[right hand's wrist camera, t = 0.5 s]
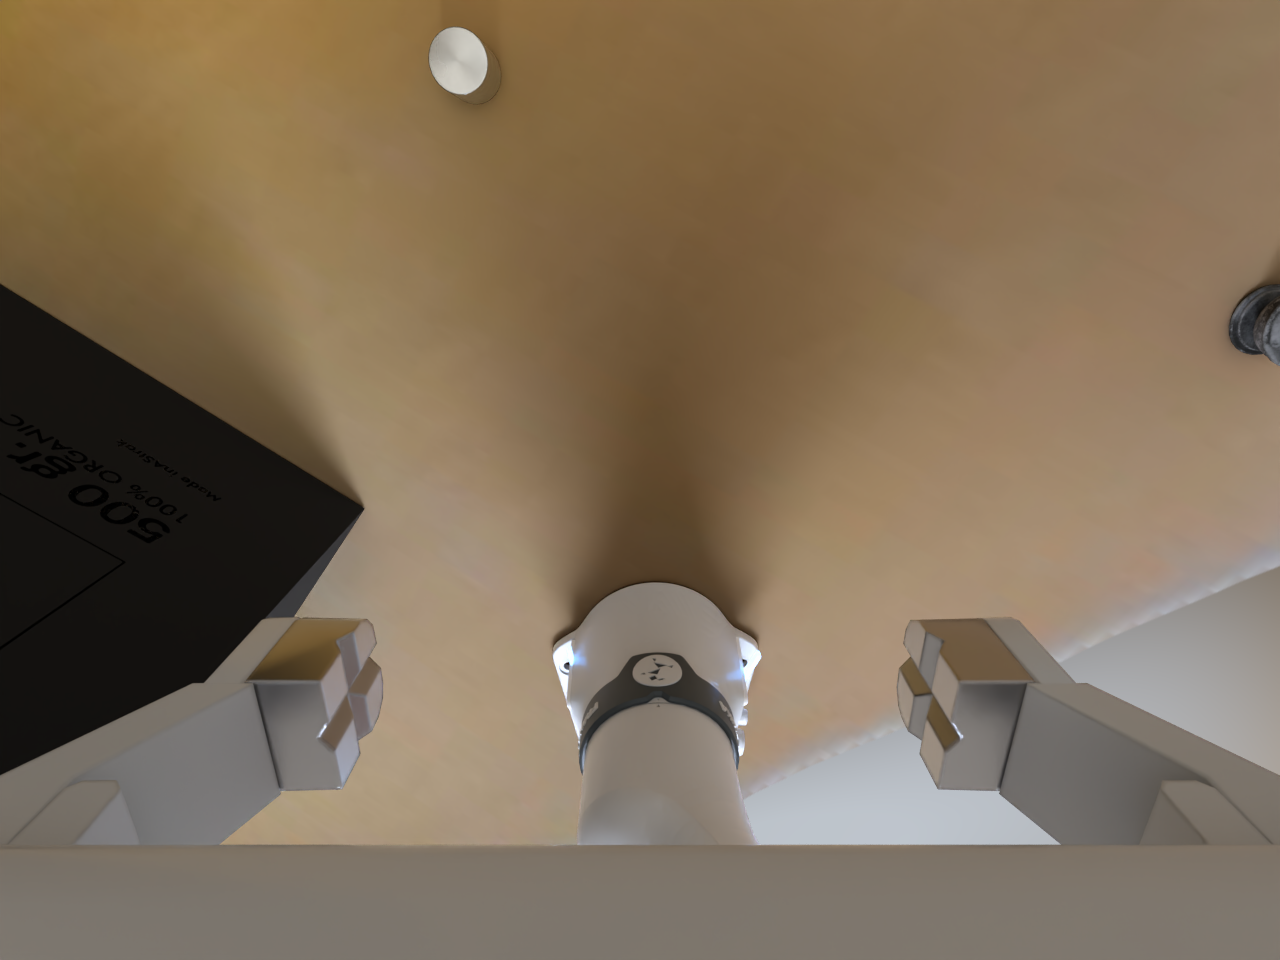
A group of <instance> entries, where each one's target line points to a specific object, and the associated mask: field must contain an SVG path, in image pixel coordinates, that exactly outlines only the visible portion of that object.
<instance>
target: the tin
mask: <svg viewBox="0 0 1280 960" xmlns="http://www.w3.org/2000/svg"><path fill="white" fill-rule="evenodd" d="M429 66H430V70H431V72H432V75H433V77H434V78H435V80H436V81H437V83H438V84H439V85H440V86H441V87H442V88H443V89H445V90H446V91H448V92H450V93H451V94H453V95H455V96H456V97H458V98H460V99H461V100H463V101H465V102H467V103H470V104H482V103H485V102H487V101H489V100H490V99H491V98H493V96H494V95H495V94H496V93H497V91H498V89H499V86H500V82H501V70H500V65H499V63H498V60H497V58H496V57H495V55H494V54H493V53H492V51H491V50H490V49H489V48H488V47H487V46H486V45H485V44H484V43H483V42H482V41H481V40H480V39H479V38H478V37H477V36H476V35H475V34H474V33H473V32H471V31H470V30H468V29H465V28H462V27H449V28H446V29H444V30H442V31H441V32H439V33H438V34H437V35H436V37H435V38H434V39H433V41H432V43H431V46H430V49H429Z"/></svg>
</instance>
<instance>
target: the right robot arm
mask: <svg viewBox="0 0 1280 960" xmlns="http://www.w3.org/2000/svg"><path fill="white" fill-rule="evenodd" d="M376 644H377V642H376V638H375V633H374V628H373V624H372V623H371V622H370V621H369V620H368V619H347V618H299V617H278V618H267V619H263V620H261V621H260V622H259V623H258V625H257V626H256V627H255V628H254V629H253V630H252V631H251V632H250V633H249V634H248V635H247V637H246V638H245V639H244V640H243V641H242V642H241V643H240V644H239V645H238V646H237V647H236V649H235V650H234V651H233V652H232V653H231V654H230V655H229V656H228V657H227V658H226V659H225V661H224V662H223V663H222V664H221V665H220V666H219V667H218V668H217V669H216V670H215V671H214V673H213V674H212V675H211V676H210V677H209V678H208V679H207V680H206V681H205V682H204V683H192V684H190V685H188V686H186V687H184V688H182V689H180V690H178V691H176V692H173V693H171V694H169V695H167V696H165V697H163V698H161V699H159V700H157V701H155V702H153V703H150V704H148V705H146V706H144V707H142V708H140V709H138V710H136V711H134V712H132V713H130V714H127V715H125V716H123V717H121V718H119V719H117V720H115V721H113V722H111V723H109V724H107V725H104V726H102V727H100V728H98V729H96V730H94V731H92V732H90V733H88V734H86V735H84V736H81V737H79V738H77V739H75V740H73V741H71V742H69V743H67V744H65V745H63V746H61V747H58V748H56V749H54V750H52V751H50V752H48V753H46V754H44V755H42V756H40V757H38V758H35V759H33V760H31V761H29V762H27V763H25V764H23V765H21V766H19V767H17V768H15V769H12V770H10V771H8V772H6V773H4V774H2V775H0V960H1280V775H1277V774H1275V773H1273V772H1271V771H1269V770H1267V769H1265V768H1263V767H1261V766H1259V765H1257V764H1255V763H1252V762H1250V761H1248V760H1246V759H1244V758H1242V757H1240V756H1238V755H1236V754H1234V753H1232V752H1229V751H1227V750H1225V749H1223V748H1221V747H1219V746H1217V745H1215V744H1213V743H1211V742H1209V741H1207V740H1204V739H1202V738H1200V737H1198V736H1196V735H1194V734H1192V733H1190V732H1188V731H1186V730H1184V729H1182V728H1179V727H1177V726H1175V725H1173V724H1171V723H1169V722H1167V721H1165V720H1163V719H1161V718H1159V717H1157V716H1154V715H1152V714H1150V713H1148V712H1146V711H1144V710H1142V709H1140V708H1138V707H1136V706H1134V705H1132V704H1129V703H1127V702H1125V701H1123V700H1121V699H1119V698H1117V697H1115V696H1113V695H1111V694H1109V693H1106V692H1104V691H1102V690H1100V689H1098V688H1096V687H1094V686H1092V685H1090V684H1088V683H1076V682H1075V681H1074V680H1073V679H1072V678H1071V677H1070V676H1069V675H1068V674H1067V673H1066V672H1065V670H1064V669H1063V668H1062V667H1061V666H1060V665H1059V664H1058V663H1057V662H1056V661H1055V659H1054V658H1053V657H1052V656H1051V655H1050V654H1049V653H1048V652H1047V651H1046V650H1045V649H1044V647H1043V646H1042V645H1041V644H1040V643H1039V642H1038V641H1037V640H1036V639H1035V638H1034V637H1033V635H1032V634H1031V633H1030V632H1029V631H1028V630H1027V629H1026V628H1025V627H1024V626H1023V624H1022V623H1021V622H1020V621H1019V620H1016V619H1014V618H1012V617H995V618H977V619H932V620H910V622H909V624H908V626H907V628H906V631H905V637H904V642H903V644H904V645H905V647H906V649H907V651H908V652H909V654H910V656H911V657H910V658H909V659H908V660H907V661H906V662H905V663H904V664H903V665H902V666H901V667H900V668H899V673H898V681H897V696H898V706H899V710H900V713H901V716H902V719H903V722H904V724H905V726H906V728H907V730H908V731H909V732H910V733H911V734H913V735H914V736H916V737H917V738H919V739H920V740H922V743H921V749H920V756H921V757H922V759H923V761H924V763H925V765H926V767H927V769H928V771H929V773H930V775H931V777H932V779H933V781H934V782H935V785H936V786H937V788H938V789H944V790H980V791H1000V793H999V794H1000V795H1001V796H1002V797H1004V798H1005V799H1006V800H1007V801H1009V802H1010V803H1011V804H1012V805H1014V806H1015V807H1016V808H1017V809H1018V810H1020V811H1021V812H1022V813H1023V814H1025V815H1026V816H1027V817H1028V818H1029V819H1031V820H1032V821H1033V822H1034V823H1036V824H1037V825H1038V826H1039V827H1040V828H1042V829H1043V830H1044V831H1045V832H1046V833H1048V834H1049V835H1050V836H1051V837H1053V838H1054V839H1055V840H1056V841H1058V842H1059V843H1060V844H1061V845H760V844H759V842H758V841H757V839H756V837H755V835H754V833H753V830H752V828H751V825H750V822H749V819H748V815H747V812H746V808H745V805H744V801H743V797H742V793H741V789H740V784H739V780H738V775H737V769H738V764H739V756H740V755H742V754H743V751H744V744H745V736H744V731H743V730H741V729H738V728H737V727H738V725H746V724H747V720H748V712H747V709H744V708H743V706H744V705H746V704H747V703H748V693H747V692H748V689H749V685H750V682H751V678H752V675H753V671H754V668H755V666H756V664H757V663H758V661H759V660H760V658H761V655H760V651H758V645H757V642H756V641H755V640H754V639H753V638H752V637H751V636H749V635H747V634H746V633H744V632H742V631H740V630H739V629H737V628H735V627H733V626H732V625H731V624H730V623H729V622H728V620H727V619H726V618H725V616H724V615H723V614H722V612H721V611H720V610H719V609H718V608H717V607H716V606H715V605H714V604H713V603H712V602H711V601H710V600H709V599H707V598H706V597H704V596H703V595H701V594H699V593H698V592H696V591H694V590H691V589H689V588H686V587H683V586H679V585H675V584H670V583H657V582H653V583H642V584H636V585H632V586H629V587H626V588H623V589H621V590H618V591H616V592H614V593H612V594H611V595H609V596H607V597H606V598H604V599H603V600H602V601H600V602H599V603H598V604H597V605H596V606H595V607H594V608H593V609H592V610H591V611H590V613H589V614H588V615H587V617H586V618H585V620H584V621H583V623H582V624H581V625H580V626H579V627H578V628H577V629H576V630H575V631H573V632H571V633H570V634H568V635H566V636H565V637H563V638H562V639H560V640H559V641H558V642H557V643H556V644H555V645H554V647H553V660H554V664H555V667H556V670H557V673H558V676H559V679H560V682H561V686H562V689H563V692H564V695H565V698H566V701H567V707H568V708H569V711H570V714H571V717H572V720H573V723H574V726H575V730H576V733H577V736H578V739H579V745H578V748H579V763H580V769H581V773H582V776H583V778H582V789H581V799H580V809H579V820H578V830H577V845H219V844H220V843H221V842H223V841H224V840H225V839H226V838H228V837H229V836H230V835H231V834H233V833H234V832H235V831H236V830H237V829H239V828H240V827H241V826H242V825H244V824H245V823H246V822H247V821H248V820H250V819H251V818H252V817H253V816H255V815H256V814H257V813H258V812H259V811H261V810H262V809H263V808H264V807H266V806H267V805H268V804H269V803H270V802H272V801H273V800H274V799H275V798H277V797H278V796H279V795H280V794H281V793H280V791H299V790H334V789H343V787H344V785H345V783H346V781H347V779H348V777H349V775H350V773H351V771H352V769H353V767H354V765H355V763H356V761H357V759H358V757H359V755H360V749H359V743H358V740H360V739H361V738H363V737H364V736H366V735H367V734H369V733H370V732H371V731H372V730H373V728H374V726H375V723H376V721H377V719H378V717H379V713H380V708H381V704H382V699H383V679H382V672H381V668H380V667H379V666H378V665H377V664H376V663H375V662H374V661H373V660H372V659H371V658H370V657H369V656H370V654H371V652H372V651H373V649H374V647H375V645H376ZM742 659H745V661H744V662H743V661H742ZM567 662H570V665H567V664H566V663H567Z"/></svg>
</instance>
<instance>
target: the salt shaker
mask: <svg viewBox="0 0 1280 960" xmlns="http://www.w3.org/2000/svg"><path fill="white" fill-rule="evenodd" d="M1229 335H1230V338H1231V342H1232V343H1233V345H1234V346H1235V347H1236V348H1237V349H1238V350H1240V351H1241V352H1243V353H1247V354H1251V355H1257V354H1264V355H1266V356H1267V357H1268V358H1269V359H1270V361H1272V362H1273V363H1275V364H1277V365H1278V366H1280V284H1279V285H1268V286H1265V287H1262V288H1259V289H1258V290H1256V291H1254V292H1252V293H1251V294H1250V295H1248V296H1247V297H1246V298H1245V299H1243V301H1242V302H1241V303H1240V304H1239V305H1238V307H1237V308H1236V310H1235V312H1234V314H1233V315H1232V318H1231V322H1230V325H1229Z"/></svg>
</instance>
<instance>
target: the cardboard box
mask: <svg viewBox="0 0 1280 960" xmlns="http://www.w3.org/2000/svg"><path fill="white" fill-rule="evenodd" d="M121 439H122V440H123V442H127V444H125V445H123V446H120V447H118V445H120V444H121V443H118V442H121ZM129 444H130V445H132V446H134V447H135V448H134V449H133V447H131V446H129V447H128V448H126V447H125V446H127V445H129ZM61 446H63V447H65V448H67V449H65V448H62V449H59V448H60V447H61ZM138 451H142V452H141V453H139V454H136V453H137V452H138ZM72 452H74V453H72ZM144 453H146V454H147V455H145V456H144V457H141V458H140V457H138V456H139V455H142V454H144ZM64 455H66V457H64ZM146 456H151V457H153V458H154V459H155V460H152V458H147V459H146ZM83 459H85V460H84V462H83V463H82V461H83ZM142 459H145V462H144V461H143V460H142ZM156 460H158V463H157V462H156ZM75 461H78V462H77V463H74V462H75ZM92 463H93V464H94V465H93V466H92V467H90V466H87V467H83V466H84V465H87V464H89V465H92ZM159 463H160V464H161V465H166V466H167V467H169V468H168V469H166V470H167V471H171V470H173V472H171V473H169V472H167V471H165V470H164V468H165V467H166V466H164V467H162V466H161V465H160V464H159ZM98 467H100V468H98ZM89 470H90V472H89ZM104 470H105V471H104ZM101 471H104V472H103V474H102V476H101V478H100V477H99V475H100V474H99V473H101ZM107 472H109V473H107ZM170 475H171V476H170ZM184 477H187V478H189V479H190V482H188V481H187V479H186V478H184ZM183 478H184V479H183ZM105 479H106V480H107V482H106V481H104V480H105ZM185 479H186V480H185ZM121 480H122V481H121ZM113 481H116V482H115V483H112V482H113ZM120 481H121V482H120ZM192 482H195V483H197V484H199V487H198V488H197V485H196V484H192ZM130 486H133V487H134V488H133V487H130ZM200 487H204V488H206V489H207V490H208V492H206V493H203V492H201V491H205V489H201V491H199V490H198V489H199V488H200ZM72 489H73V493H72V494H70V495H69V494H68V493H70V492H71V490H72ZM136 489H138V490H139V491H135V490H136ZM76 490H77V491H78V492H77V494H76V496H75V498H73V495H74V493H75V491H76ZM99 490H101V491H102V492H103V495H102V497H101V498H100V496H101V494H102V493H101V492H100V491H99ZM105 492H106V493H107V494H108V495H109V497H108V496H107V497H108V499H107V501H105V500H103V501H105V502H103V501H102V500H101V499H102V498H105V497H104V495H105ZM126 492H127V493H126ZM133 492H137V493H133ZM135 494H136V495H135ZM141 494H142V495H143V498H144V499H142V496H141ZM134 495H135V497H134ZM206 495H207V496H206ZM149 497H150V498H149ZM147 498H149V500H148V501H147V503H145V500H146V499H147ZM152 498H154V499H152ZM105 499H106V498H105ZM139 499H142V500H139ZM91 501H94V506H91V505H90V504H89V505H86V503H88V502H91ZM83 502H85V504H84V503H83ZM115 502H118V504H117V506H119V507H116V506H115ZM122 502H124V505H126V504H130V505H132V506H133V511H132V509H131V507H130V506H128V507H127V506H121V505H122ZM159 502H160V503H159ZM157 503H159V505H158V507H155V504H157ZM91 504H92V503H91ZM99 504H100V505H99ZM104 506H105V508H106V512H104V513H100V511H103V510H104ZM136 508H137V509H138V510H136ZM108 509H110V510H111V511H110V512H109V513H108V512H107V510H108ZM173 510H175V511H176V512H175V513H174V514H172V513H173ZM363 510H364V508H363V507H361V506H360V505H358V504H356V503H355V502H353V501H351V500H350V499H348V498H347V497H345V496H343V495H342V494H340V493H338V492H337V491H335V490H334V489H332V488H330V487H329V486H327V485H325V484H324V483H322V482H321V481H319V480H317V479H316V478H314V477H312V476H311V475H309V474H308V473H306V472H304V471H303V470H301V469H299V468H298V467H296V466H294V465H293V464H291V463H290V462H288V461H286V460H285V459H283V458H281V457H280V456H278V455H277V454H275V453H273V452H272V451H270V450H268V449H267V448H265V447H264V446H262V445H260V444H259V443H257V442H255V441H254V440H252V439H251V438H249V437H247V436H246V435H244V434H242V433H241V432H239V431H238V430H236V429H234V428H233V427H231V426H229V425H228V424H226V423H224V422H223V421H221V420H220V419H218V418H216V417H215V416H213V415H211V414H210V413H208V412H207V411H205V410H203V409H202V408H200V407H198V406H197V405H195V404H194V403H192V402H190V401H189V400H187V399H185V398H184V397H182V396H181V395H179V394H177V393H176V392H174V391H172V390H171V389H169V388H168V387H166V386H164V385H163V384H161V383H159V382H158V381H156V380H154V379H153V378H151V377H150V376H148V375H146V374H145V373H143V372H141V371H140V370H138V369H137V368H135V367H133V366H132V365H130V364H128V363H127V362H125V361H124V360H122V359H120V358H119V357H117V356H115V355H114V354H112V353H111V352H109V351H107V350H106V349H104V348H102V347H101V346H99V345H98V344H96V343H94V342H93V341H91V340H89V339H88V338H86V337H84V336H83V335H81V334H80V333H78V332H76V331H75V330H73V329H71V328H70V327H68V326H67V325H65V324H63V323H62V322H60V321H58V320H57V319H55V318H54V317H52V316H50V315H49V314H47V313H45V312H44V311H42V310H41V309H39V308H37V307H36V306H34V305H32V304H31V303H29V302H28V301H26V300H24V299H23V298H21V297H19V296H18V295H16V294H14V293H13V292H11V291H10V290H8V289H6V288H5V287H3V286H1V285H0V775H2V774H4V773H6V772H8V771H10V770H12V769H15V768H17V767H19V766H21V765H23V764H25V763H27V762H29V761H31V760H33V759H35V758H38V757H40V756H42V755H44V754H46V753H48V752H50V751H52V750H54V749H56V748H58V747H61V746H63V745H65V744H67V743H69V742H71V741H73V740H75V739H77V738H79V737H81V736H84V735H86V734H88V733H90V732H92V731H94V730H96V729H98V728H100V727H102V726H104V725H107V724H109V723H111V722H113V721H115V720H117V719H119V718H121V717H123V716H125V715H127V714H130V713H132V712H134V711H136V710H138V709H140V708H142V707H144V706H146V705H148V704H150V703H153V702H155V701H157V700H159V699H161V698H163V697H165V696H167V695H169V694H171V693H173V692H176V691H178V690H180V689H182V688H184V687H186V686H188V685H190V684H192V683H204V682H205V681H206V680H207V679H208V678H209V677H210V676H211V675H212V674H213V673H214V671H215V670H216V669H217V668H218V667H219V666H220V665H221V664H222V663H223V662H224V661H225V659H226V658H227V657H228V656H229V655H230V654H231V653H232V652H233V651H234V650H235V649H236V647H237V646H238V645H239V644H240V643H241V642H242V641H243V640H244V639H245V638H246V637H247V635H248V634H249V633H250V632H251V631H252V630H253V629H254V628H255V627H256V626H257V625H258V623H259V622H260V621H261V620H263V619H267V618H278V617H294V616H295V614H296V613H297V611H298V610H299V608H300V606H301V605H302V603H303V602H304V600H305V599H306V597H307V596H308V594H309V593H310V591H311V590H312V588H313V587H314V585H315V584H316V582H317V581H318V579H319V577H320V576H321V574H322V573H323V571H324V570H325V568H326V567H327V565H328V564H329V562H330V561H331V559H332V558H333V556H334V555H335V553H336V552H337V550H338V548H339V547H340V545H341V544H342V542H343V541H344V539H345V538H346V536H347V535H348V533H349V532H350V530H351V529H352V527H353V526H354V524H355V523H356V521H357V519H358V518H359V516H360V515H361V513H362V512H363ZM134 511H136V512H138V513H139V515H138V514H137V513H135V516H136V517H138V518H135V517H134V516H133V514H132V513H131V512H134ZM167 513H170V514H172V515H164V514H167ZM105 514H108V515H107V516H105ZM179 517H180V518H179ZM123 518H124V521H123V522H122V523H118V522H116V521H115V520H117V521H121V520H122V519H123ZM178 518H179V520H178V521H177V522H176V520H177V519H178ZM140 527H143V528H144V529H145V532H144V531H143V529H140ZM147 531H150V532H152V534H153V535H152V534H151V533H146V532H147ZM138 533H139V534H141V535H139V534H138ZM150 536H152V538H151V539H146V538H149V537H150ZM156 536H159V537H160V538H158V539H156V540H155V538H156ZM145 537H146V538H145ZM154 540H155V541H154Z"/></svg>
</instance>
